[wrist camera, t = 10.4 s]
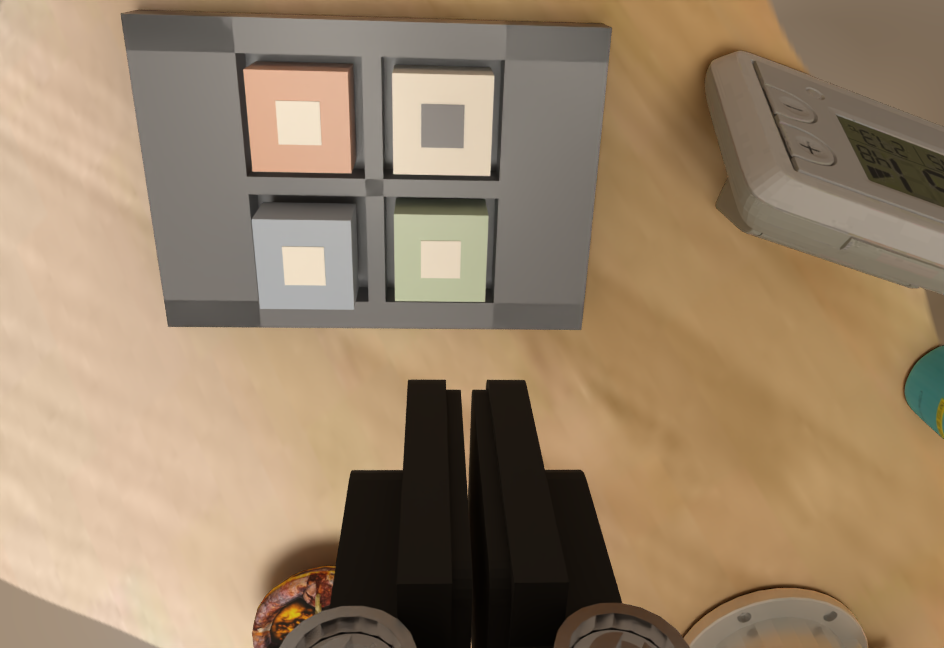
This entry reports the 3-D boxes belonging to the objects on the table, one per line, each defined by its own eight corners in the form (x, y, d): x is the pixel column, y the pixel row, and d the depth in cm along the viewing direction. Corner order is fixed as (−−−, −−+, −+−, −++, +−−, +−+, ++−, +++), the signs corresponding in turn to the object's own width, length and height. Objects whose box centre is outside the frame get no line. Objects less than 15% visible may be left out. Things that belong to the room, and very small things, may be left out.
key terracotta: (353, 63, 34) (347, 72, 32) (356, 159, 36) (351, 173, 34) (255, 61, 34) (242, 69, 32) (263, 157, 36) (252, 172, 33)
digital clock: (1012, 164, 38) (1207, 236, 29) (884, 310, 41) (1020, 419, 32) (756, -20, 34) (883, -8, 24) (636, 158, 37) (707, 231, 28)
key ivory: (490, 67, 34) (494, 75, 32) (486, 161, 36) (490, 176, 34) (394, 64, 34) (391, 73, 32) (395, 159, 36) (393, 174, 34)
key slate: (355, 203, 36) (350, 221, 34) (358, 288, 38) (354, 310, 35) (262, 202, 36) (251, 219, 33) (270, 287, 37) (259, 309, 35)
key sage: (485, 199, 37) (488, 216, 35) (481, 281, 39) (485, 302, 37) (396, 198, 37) (393, 214, 35) (397, 280, 39) (394, 301, 36)
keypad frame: (602, 23, 34) (612, 27, 33) (574, 312, 40) (581, 329, 39) (137, 9, 33) (120, 13, 31) (180, 309, 39) (168, 326, 38)
